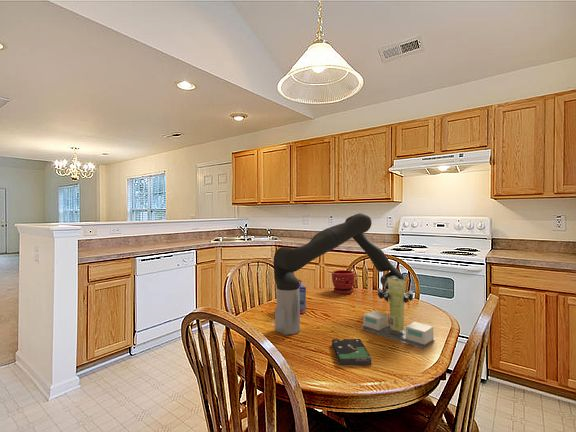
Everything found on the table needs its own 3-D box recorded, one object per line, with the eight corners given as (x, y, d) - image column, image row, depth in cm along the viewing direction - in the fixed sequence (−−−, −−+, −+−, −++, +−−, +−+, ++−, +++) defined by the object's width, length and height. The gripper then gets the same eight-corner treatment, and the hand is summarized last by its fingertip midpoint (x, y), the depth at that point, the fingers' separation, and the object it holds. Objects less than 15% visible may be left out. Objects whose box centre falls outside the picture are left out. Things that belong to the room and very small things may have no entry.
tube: (403, 326, 124) (402, 276, 123) (407, 331, 119) (405, 279, 118) (388, 326, 124) (387, 277, 124) (392, 331, 119) (390, 280, 119)
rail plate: (422, 349, 109) (422, 346, 109) (361, 329, 127) (361, 326, 127) (435, 340, 116) (435, 337, 116) (375, 322, 134) (375, 320, 134)
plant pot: (358, 290, 185) (357, 270, 185) (349, 296, 174) (349, 274, 174) (337, 288, 192) (337, 268, 192) (328, 293, 181) (328, 272, 181)
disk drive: (331, 346, 113) (339, 367, 98) (331, 339, 113) (339, 358, 98) (360, 346, 113) (372, 366, 98) (360, 338, 113) (372, 357, 98)
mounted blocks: (424, 344, 110) (424, 332, 110) (363, 325, 128) (363, 314, 128) (433, 338, 115) (433, 326, 115) (372, 321, 133) (372, 310, 133)
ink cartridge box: (306, 313, 147) (306, 282, 147) (295, 314, 146) (294, 283, 145) (300, 306, 157) (299, 277, 156) (289, 307, 155) (289, 278, 155)
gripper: (376, 278, 137) (376, 288, 120) (411, 280, 133) (417, 291, 117) (376, 295, 137) (376, 308, 121) (411, 298, 133) (417, 311, 117)
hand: (396, 299), depth 119 cm, fingers open, 6 cm apart
